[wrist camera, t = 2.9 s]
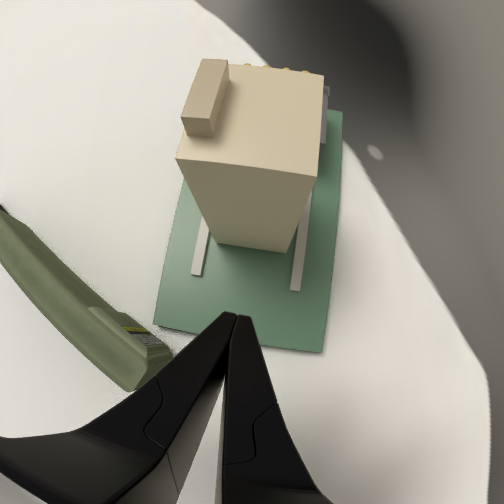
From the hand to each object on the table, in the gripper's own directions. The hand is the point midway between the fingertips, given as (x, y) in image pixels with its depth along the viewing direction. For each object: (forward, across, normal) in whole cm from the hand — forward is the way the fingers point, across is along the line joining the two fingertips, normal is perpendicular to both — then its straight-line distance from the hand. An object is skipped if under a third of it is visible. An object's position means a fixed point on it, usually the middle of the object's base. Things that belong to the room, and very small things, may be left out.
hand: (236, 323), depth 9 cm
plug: (+14, +1, +3) cm, 14 cm away
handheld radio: (+10, +17, +9) cm, 22 cm away
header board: (+16, +1, +3) cm, 16 cm away
